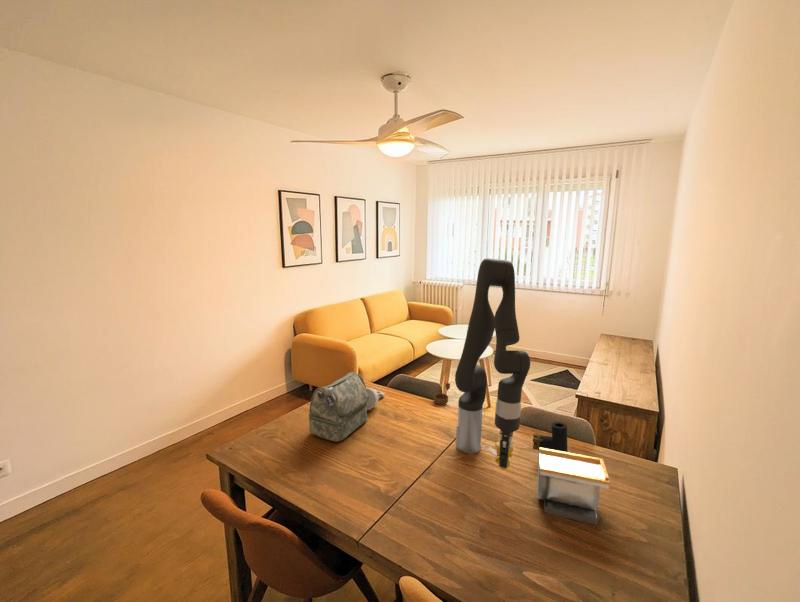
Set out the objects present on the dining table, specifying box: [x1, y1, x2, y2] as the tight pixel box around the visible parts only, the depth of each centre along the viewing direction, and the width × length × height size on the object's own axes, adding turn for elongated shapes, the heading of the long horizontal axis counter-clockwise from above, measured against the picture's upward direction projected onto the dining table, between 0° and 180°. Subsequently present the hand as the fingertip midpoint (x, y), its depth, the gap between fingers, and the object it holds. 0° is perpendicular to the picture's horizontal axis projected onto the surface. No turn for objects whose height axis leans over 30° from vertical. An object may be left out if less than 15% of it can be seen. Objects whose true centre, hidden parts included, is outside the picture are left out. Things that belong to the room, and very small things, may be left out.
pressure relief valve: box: [482, 440, 514, 471], centre depth 119 cm, size 6×12×10 cm, turn 27°
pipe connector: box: [532, 421, 569, 453], centre depth 133 cm, size 12×5×15 cm, turn 65°
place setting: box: [433, 382, 451, 408], centre depth 185 cm, size 18×20×6 cm
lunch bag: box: [308, 371, 369, 443], centre depth 157 cm, size 26×18×22 cm
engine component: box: [366, 387, 386, 411], centre depth 182 cm, size 11×20×10 cm, turn 171°
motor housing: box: [536, 447, 611, 526], centre depth 111 cm, size 18×12×14 cm, turn 70°
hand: (504, 460), depth 117 cm, fingers closed on pressure relief valve, 6 cm apart
